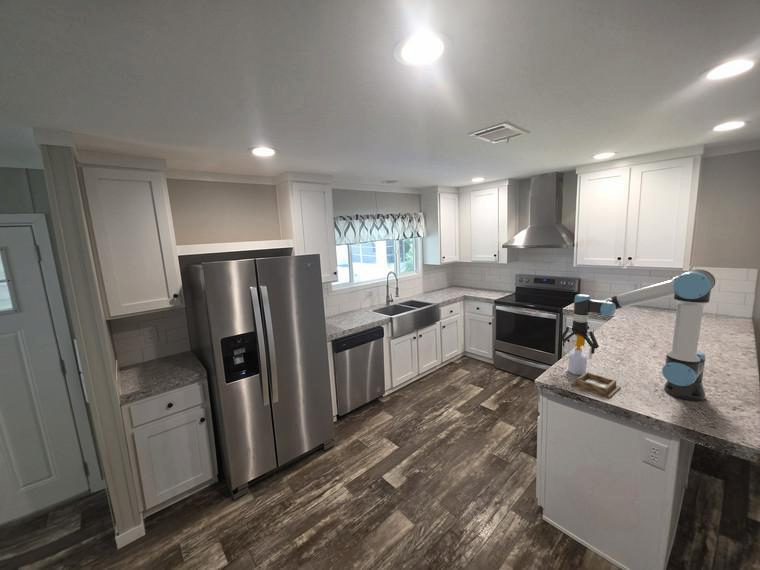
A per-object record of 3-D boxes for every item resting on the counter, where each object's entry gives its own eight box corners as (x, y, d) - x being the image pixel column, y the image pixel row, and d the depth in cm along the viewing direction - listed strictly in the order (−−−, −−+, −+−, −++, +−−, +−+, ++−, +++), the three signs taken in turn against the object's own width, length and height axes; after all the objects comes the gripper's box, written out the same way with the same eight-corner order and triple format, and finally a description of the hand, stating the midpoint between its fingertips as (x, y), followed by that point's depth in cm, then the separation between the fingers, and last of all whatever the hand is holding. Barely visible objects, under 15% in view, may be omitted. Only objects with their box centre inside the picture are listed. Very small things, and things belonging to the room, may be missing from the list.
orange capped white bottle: (582, 369, 192) (585, 330, 188) (588, 375, 184) (591, 335, 179) (566, 368, 195) (568, 330, 191) (570, 374, 186) (573, 335, 182)
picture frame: (620, 388, 168) (621, 381, 168) (609, 398, 159) (610, 391, 158) (583, 376, 183) (583, 370, 182) (571, 385, 173) (571, 378, 173)
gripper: (607, 324, 176) (604, 359, 180) (560, 315, 196) (558, 347, 200) (602, 326, 172) (599, 363, 175) (555, 317, 191) (553, 350, 195)
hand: (577, 354), depth 187 cm, fingers open, 13 cm apart
